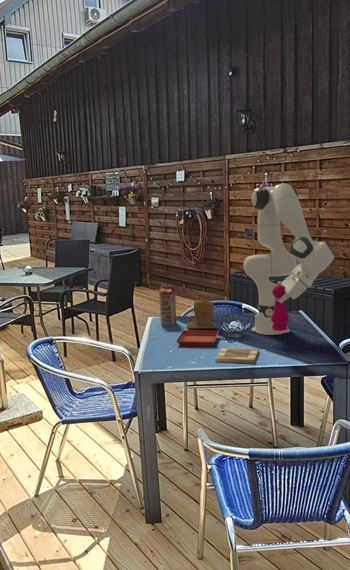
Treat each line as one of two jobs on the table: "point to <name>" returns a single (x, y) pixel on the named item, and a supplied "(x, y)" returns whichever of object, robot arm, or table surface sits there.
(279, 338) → the table surface
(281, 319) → the pepper mill
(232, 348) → the birch board
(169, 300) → the juice carton
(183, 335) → the plant saucer
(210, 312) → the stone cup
